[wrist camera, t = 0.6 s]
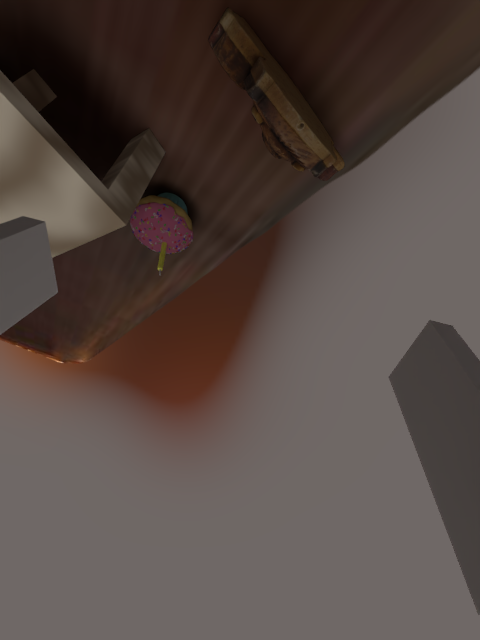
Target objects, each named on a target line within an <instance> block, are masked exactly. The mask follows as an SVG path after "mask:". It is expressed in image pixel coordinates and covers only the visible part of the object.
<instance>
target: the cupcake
mask: <svg viewBox="0 0 480 640" xmlns="http://www.w3.org/2000/svg"><path fill="white" fill-rule="evenodd" d="M130 224H131V228H132V231H133V233H134V235H135V236H136V237H137V239H138V240H139V241H141V244H144V245H145V246H147V247H148V248H149V249H152V250H153V251H154V252H159V253H160V257H159V262H158V268H157V269H158V270H159V275H161V271H162V270H163V264H164V258H165V254H166V253H167V254H169V253H170V254H171V253H172V254H174V253H177V252H181V251H182V250H184V249H185V248H186V247H188V245H189V244H190V243H191V242H192V239H193V232H192V221H191V219H190V218H189V216H188V214H187V207H186V205H185V203H184V201H183V200H182V199H181V198H180V197H178V196H177V195H175V194H172V193H161V194H159V195H158V196H155V195H149V196H147V197H144V198H142V199H140V201H139V203H138V204H137V206H136V208H135V210H134V212H133V214H132V215H131V218H130Z"/></svg>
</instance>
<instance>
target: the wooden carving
mask: <svg viewBox="0 0 480 640" xmlns="http://www.w3.org/2000/svg"><path fill="white" fill-rule="evenodd" d="M208 40H209V43H210V45H211V47H212V49H213V50H214V53H215V55H216V57H217V59H218V60H219V62H220V64H221V66H222V67H223V69H224V70H225V71H226V72H227V74H228V75H229V77H230V78H231V79H232V80H233V81H235V83H236V84H237V86H239V87H240V88H241V89H243V90H246V91H247V93H248V94H249V96H250V97H251V98H252V99H253V101H254V105H253V107H252V114H253V116H254V118H255V120H256V121H257V123H260V126H261V128H262V132H263V133H262V138H263V140H264V142H265V144H266V147H267V148H268V150H269V151H270V153H271V154H272V155H273V156H274V157H275V158H278V159H281V158H283V159H285V160H287V161H289V162H291V163H292V166H293V167H294V168H295V169H296V170H298V171H304V170H305V169H307V170H309V171H311V172H312V174H313V175H314V176H315V177H318V178H319V179H321V180H323V181H326V180H328V179H330V178H331V177H332V176H333V175H334V174H335V173H336V172H338V171H340V170H342V169H343V168H344V160H343V158H342V157H341V155H340V154H339V153H338V151H337V150H336V149H335V147H334V146H333V145H334V143H333V141H332V139H331V137H330V136H329V134H328V133H327V131H326V130H325V128H324V126H323V125H322V123H321V122H320V120H319V119H318V117H317V116H316V114H315V113H314V112H313V110H312V109H311V107H310V106H309V104H308V103H307V101H306V100H305V98H304V97H303V95H302V94H301V93H300V91H299V90H298V88H297V87H296V86H295V84H294V83H293V82H292V80H291V79H290V78H289V76H288V75H287V74H286V72H285V71H284V70H283V69H282V67H281V66H280V65H279V64H278V62H277V61H276V60H275V59H274V58H273V56H272V55H271V54H270V53H269V51H268V50H267V49H266V47H265V46H264V44H263V43H262V42H261V40H260V39H259V38H258V36H257V35H256V34H255V32H254V31H253V30H252V28H251V27H250V26H249V24H248V23H247V22H246V21H245V20H244V18H242V17H241V16H239V15H238V14H237V13H235V12H233V11H232V10H231V9H230V8H227V9H226V11H225V12H224V14H223V16H222V17H221V19H220V21H219V22H218V23H217V25H216V26H215V28H214V30H213V31H212V33H211V35H210V36H209V39H208Z"/></svg>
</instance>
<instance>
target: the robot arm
mask: <svg viewBox="0 0 480 640" xmlns="http://www.w3.org/2000/svg"><path fill="white" fill-rule="evenodd" d="M56 293H58V289H57V283H56V278H55V272H54V267H53V261H52V256H51V250H50V244H49V239H48V233H47V228H46V222H45V221H41V220H37V219H33V218H29V217H25V216H21V217H19V218H16V219H13V220H10V221H7V222H4V223H2V224H0V335H1V334H2V333H3V332H5V331H6V330H7V329H9V328H10V327H11V326H13V325H14V324H16V323H17V322H18V321H20V320H21V319H22V318H24V317H25V316H26V315H28V314H29V313H30V312H32V311H33V310H35V309H36V308H37V307H39V306H40V305H41V304H43V303H44V302H45V301H47V300H48V299H50V298H51V297H52V296H54V295H55V294H56ZM389 379H390V382H391V385H392V387H393V390H394V392H395V395H396V397H397V400H398V403H399V405H400V408H401V411H402V414H403V416H404V419H405V422H406V424H407V427H408V430H409V432H410V435H411V437H412V440H413V443H414V445H415V448H416V451H417V453H418V456H419V458H420V461H421V464H422V467H423V469H424V472H425V474H426V477H427V480H428V482H429V485H430V488H431V490H432V493H433V496H434V498H435V501H436V504H437V506H438V509H439V512H440V514H441V517H442V520H443V522H444V525H445V527H446V530H447V533H448V535H449V538H450V541H451V543H452V546H453V548H454V551H455V554H456V557H457V559H458V562H459V565H460V567H461V570H462V572H463V575H464V577H465V580H466V583H467V586H468V588H469V591H470V594H471V596H472V599H473V601H474V604H475V607H476V609H477V612H478V615H480V361H479V359H478V358H477V357H476V356H475V354H474V353H473V352H472V350H471V349H470V348H469V347H468V345H467V344H466V343H465V341H464V340H463V339H462V338H461V337H460V335H459V334H458V333H457V331H456V330H455V329H454V328H453V326H451V325H447V324H443V323H439V322H435V321H431V320H430V321H429V322H428V323H427V325H426V326H425V328H424V329H423V330H422V332H421V333H420V334H419V336H418V337H417V338H416V340H415V341H414V343H413V344H412V345H411V347H410V348H409V350H408V351H407V352H406V354H405V355H404V356H403V358H402V359H401V361H400V362H399V364H398V365H397V366H396V368H395V369H394V370H393V372H392V373H391V374H390V376H389Z"/></svg>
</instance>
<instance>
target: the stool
mask: <svg viewBox="0 0 480 640" xmlns="http://www.w3.org/2000/svg"><path fill="white" fill-rule="evenodd" d="M56 97H57V96H56V95H55V94H54V92H53V91H52V90H51V89H50V88H49V86H48V85H47V84H46V83H45V82H44V80H43V79H42V78H41V77H40V76H39V74H38V73H37V72H36V71H35V70H34V69H33V70H31V71H30V72H28V73H27V74H25V75H24V76H22V77H21V78H19V79H18V80H16V81H15V82H13V83H11V82H10V80H9V79H8V78H7V77H6V76H5V75H4V74H3V73H2V72H1V70H0V224H2V223H4V222H7V221H10V220H13V219H16V218H19V217H21V216H25V217H29V218H33V219H37V220H41V221H45V222H46V228H47V233H48V239H49V244H50V250H51V256H52V258H53V257H55V256H57V255H59V254H62V253H64V252H66V251H69V250H71V249H73V248H75V247H78V246H80V245H82V244H85V243H87V242H89V241H91V240H94V239H96V238H98V237H101V236H103V235H105V234H107V233H110V232H112V231H114V230H117V229H119V228H121V227H123V226H126V225H127V223H128V221H129V219H130V217H131V215H132V214H133V212H134V210H135V208H136V206H137V204H138V203H139V201H140V199H141V197H142V195H143V193H144V191H145V190H146V188H147V186H148V184H149V182H150V180H151V178H152V177H153V175H154V173H155V171H156V169H157V167H158V166H159V164H160V162H161V160H162V158H163V156H164V154H165V153H166V152H165V151H164V150H163V148H162V147H161V145H160V144H159V142H158V141H157V139H156V138H155V136H154V135H153V133H152V132H151V130H150V129H149V128H148V129H147V130H145V131H144V132H142V133H140V134H139V135H137V136H136V137H134V138H132V139H131V140H130V141H129V143H128V144H127V145H126V147H125V148H124V150H123V151H122V153H121V154H120V155H119V157H118V158H117V160H116V161H115V163H114V164H113V165H112V167H111V168H110V170H109V171H108V172H107V174H106V175H105V177H104V178H103V180H102V181H100V180H99V179H98V178H97V177H96V176H95V175H94V174H93V172H92V171H91V170H90V169H89V168H88V167H87V166H86V165H85V164H84V162H83V161H82V160H81V159H80V158H79V157H78V156H77V155H76V154H75V152H74V151H73V150H72V149H71V148H70V147H69V146H68V145H67V144H66V143H65V141H64V140H63V139H62V138H61V137H60V136H59V135H58V134H57V133H56V131H55V130H54V129H53V128H52V127H51V126H50V125H49V124H48V123H47V121H46V120H45V119H44V118H43V117H42V116H41V115H40V114H39V113H38V112H39V111H41V110H42V109H43V108H44V107H45V106H47V105H48V104H49V103H50V102H51V101H53V100H54V99H55V98H56Z"/></svg>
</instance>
